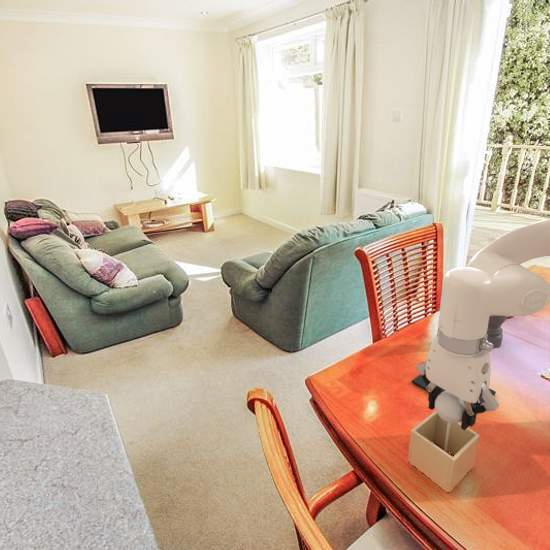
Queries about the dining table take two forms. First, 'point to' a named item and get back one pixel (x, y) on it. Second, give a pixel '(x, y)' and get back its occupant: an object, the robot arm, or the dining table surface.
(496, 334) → the candle holder
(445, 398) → the lollipop
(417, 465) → the box
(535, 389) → the dining table surface
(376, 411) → the dining table surface
